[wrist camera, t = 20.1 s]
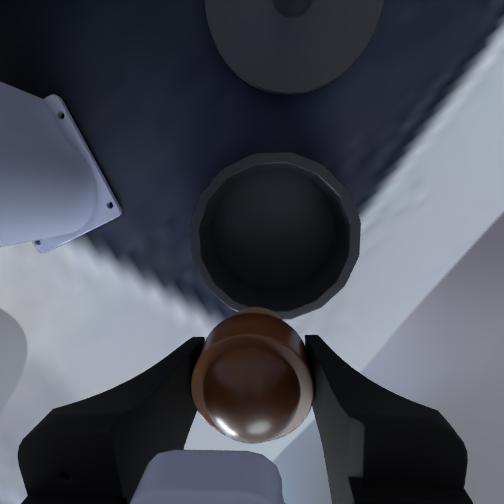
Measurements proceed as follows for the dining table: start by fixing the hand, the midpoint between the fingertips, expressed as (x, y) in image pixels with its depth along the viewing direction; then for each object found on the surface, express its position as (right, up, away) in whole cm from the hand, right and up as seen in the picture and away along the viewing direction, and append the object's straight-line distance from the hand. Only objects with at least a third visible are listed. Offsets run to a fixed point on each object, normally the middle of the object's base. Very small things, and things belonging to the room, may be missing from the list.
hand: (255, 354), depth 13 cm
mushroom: (0, 0, +2) cm, 2 cm away
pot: (+1, +7, +8) cm, 10 cm away
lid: (+2, +21, +4) cm, 21 cm away
